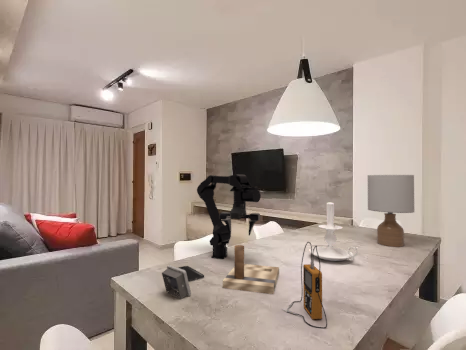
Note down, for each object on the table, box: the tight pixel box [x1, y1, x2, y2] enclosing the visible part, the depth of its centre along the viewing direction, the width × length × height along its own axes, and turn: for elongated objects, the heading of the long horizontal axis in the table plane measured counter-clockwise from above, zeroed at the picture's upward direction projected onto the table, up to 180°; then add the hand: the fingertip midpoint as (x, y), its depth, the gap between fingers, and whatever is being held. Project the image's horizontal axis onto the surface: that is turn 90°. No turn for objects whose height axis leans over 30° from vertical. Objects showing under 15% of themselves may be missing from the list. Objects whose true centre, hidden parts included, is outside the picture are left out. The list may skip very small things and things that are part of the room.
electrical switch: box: [161, 264, 192, 300], centre depth 84 cm, size 9×5×9 cm, turn 51°
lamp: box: [367, 174, 415, 248], centre depth 154 cm, size 24×24×42 cm
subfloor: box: [222, 263, 280, 295], centre depth 97 cm, size 18×20×2 cm
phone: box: [177, 265, 205, 283], centre depth 103 cm, size 8×1×15 cm
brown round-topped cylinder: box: [233, 244, 245, 279], centre depth 93 cm, size 4×4×14 cm
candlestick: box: [308, 201, 359, 262], centre depth 123 cm, size 21×25×28 cm
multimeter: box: [281, 241, 328, 329], centre depth 73 cm, size 15×10×20 cm
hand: (239, 234), depth 118 cm, fingers open, 9 cm apart
